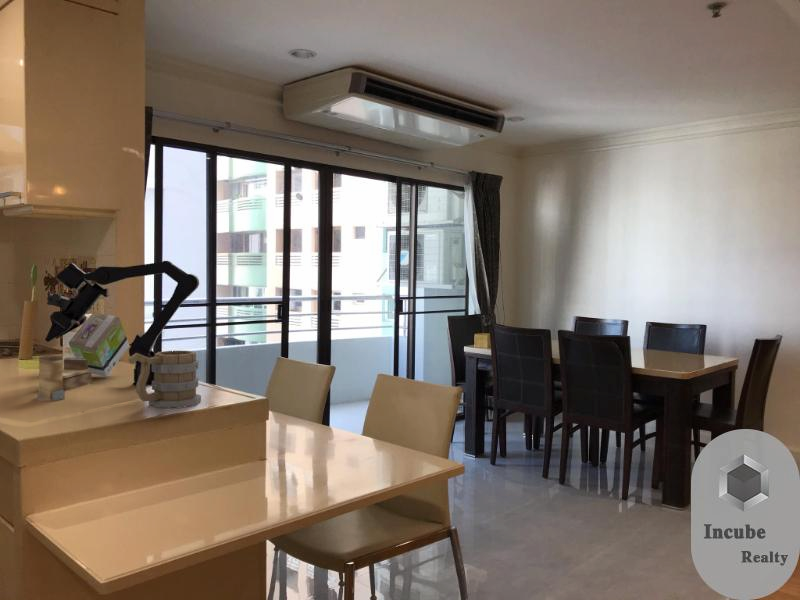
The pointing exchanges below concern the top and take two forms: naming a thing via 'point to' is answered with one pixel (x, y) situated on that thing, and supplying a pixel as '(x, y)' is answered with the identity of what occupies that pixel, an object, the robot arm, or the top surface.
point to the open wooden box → (76, 381)
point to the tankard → (169, 378)
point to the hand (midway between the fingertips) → (51, 339)
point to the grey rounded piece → (54, 395)
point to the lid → (75, 367)
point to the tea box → (100, 343)
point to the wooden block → (50, 375)
